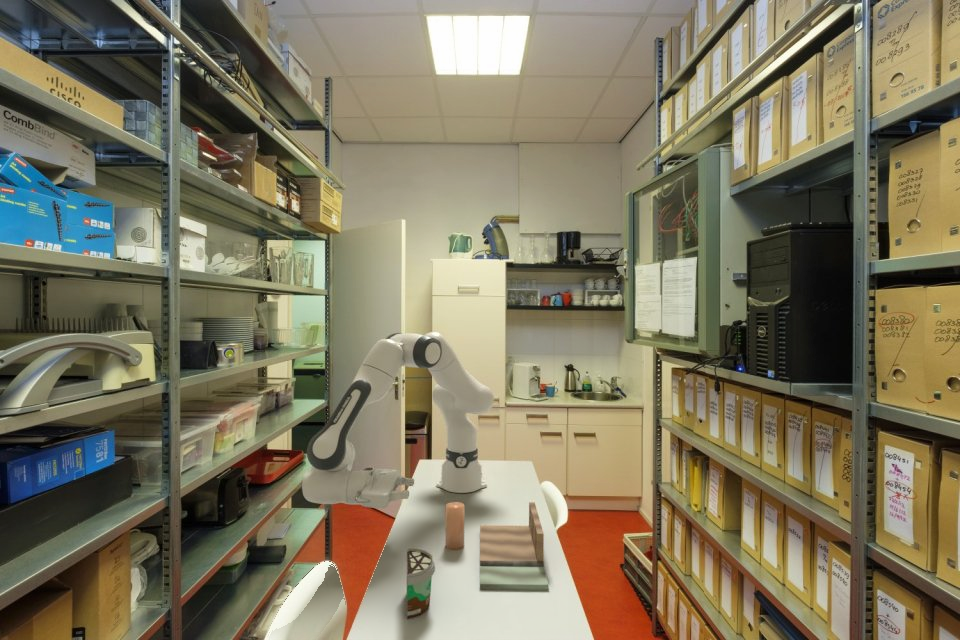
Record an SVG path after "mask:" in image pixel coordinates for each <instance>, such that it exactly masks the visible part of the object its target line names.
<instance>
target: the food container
mask: <svg viewBox="0 0 960 640" xmlns="http://www.w3.org/2000/svg"><path fill="white" fill-rule="evenodd" d="M435 565H436V564H435V560H434V558H433V556H432V554H431V553H430V552H428V551H427V550H425V549H422V548H417V547H406V618H407V619H406V620H411V619H415V618H418V617H420V616H422V615H423V614H426V612H427V611H428V610H429V609H430V603H431V592H432V578H433V575H434V574H435V571H436V566H435Z"/></svg>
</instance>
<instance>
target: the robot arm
mask: <svg viewBox="0 0 960 640" xmlns="http://www.w3.org/2000/svg"><path fill="white" fill-rule="evenodd" d="M458 357H459V356H457V353H456V352H455V350H454V349H453V347H452V346H451V344H450V342H449V341H448V340H447V339H446V337H444V335H443V334H441V333H440V332H438V331H430V332H427V333H426V334H424V335H423V334H420V333H415V332H411V333H406V332H405V333H403V332H395V333H394V332H393V333H391V334H389V335H387V336H386V337H385V338H382V339H379V340H378V341H377V342H375V344H374V345H373V346H372V347H371V349H370V351H369V352H368V353H367V355H366V356H365V358H364V359H363V360H362V363H361V365H360V367H359V369H358V370H357V373H356V375H355V377H354V379H353V381H352V383H351V384H350V385H349V388H348V389H347V391H346V392H345V393H344V395H343V397H342V398H341V400H340V401H339V403H338V405H337V406H336V408H335V409H334V412H333V413H332V414H331V417H330V418H329V419H328V420H327V423H326V424H325V425H324V426H323V427H322V428H321V429H320V430H319V431H318V432H316V434H314V435H313V436H312V437H311V439H310V441H309V442H308V445H307V447H306V456H307V460H308V463H309V464H310V465H311V467H310V468H309V469H308V470H307V471H306V472H305V473H304V474H303V475H302V479H301V492H302V495H303V497H304V499H305V500H306V501H308V502H310V503H313V504H321V505H323V504H324V505H335V504H339V503H340V504H341V503H342V504H346V505H360V506H362V507H363V508H364V507H365V508H370V509H371V508H373V509H386V508H388V507H389V506H390V504H391V501H393V502H394V501H398V500H402V499H403V500H407V499H409V496H410V491H409V490H406V489H403V490H399V491H397V489H398V487H399V486H406V487H413V486H414V485H415V479H414V478H408V477H405V476H401V471H400V470H398V469H388V468H375V467H374V466H367V467H366V468H363V469H360V470H353V467H354V463H355V459H356V449H355V446H354V444H353V443H352V442H351V441H350V440H348V435H349V433H350V432H351V430H352V428H353V426H354V424H355V423H356V421H357V419H358V418H359V416H360V414H361V413H362V411H363V409H365V407H367V406H368V405H370V404H372V403H376V402H379V401H381V400H383V399H384V398H385V397H386V395H388V392H389V391H390V389H391V388H392V386H393V384H394V382H395V380H396V378H397V375H398V373H399V370H400V369H401V367H402V366H403V367H405V368H419V369H423V370H424V369H425V370H426V369H427V370H428V371H429V373H430V375H431V377H432V378H433V380H434V381H435V383H436V384H435V386H434V387H433V390H432V393H431V395H432V401H433V403H434V405H435V406H436V407H437V408H438V409H439V410H440V413H441V414H442V417H443V419H444V423H445V426H446V427H445V428H446V443H447V445H446V449H445V461H444V462H443V463H442V464H441V476H440V479H439V480H438V481H437V482H436V484H435V485H436V487H437V488H440V489H443V490H444V491H447V492H451V493H455V494H457V493H458V494H464V493H465V494H466V493H471V492H472V493H473V492H475V491H478V490H480V489H484V488H487V487H488V485H487V482H486V480H485V478H484V477H483V470H482V468H483V467H482V466H483V465H482V464H481V462H480V461H479V460H478V458H479V457H478V456H479V450H478V445H477V443H478V441H477V439H478V438H477V437H478V430H477V426H476V424H474V422H472V421H471V420H470V418H469V416H468V414H472V415H481V414H486V413H488V412H489V411H491V409H492V408H493V406H494V402H495V401H494V399H495V397H494V393H493V390H492V389H491V388H490V387H488V386H487V385H484V384H483V383H482V382H480V381H478V380H477V379H476V378H475V377H474V376H473V375H472V374H470V373H469V371H467V369H466V368H465V366H463V364H462V363H461V361H460V359H459V358H458Z"/></svg>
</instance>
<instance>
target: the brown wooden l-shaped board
mask: <svg viewBox="0 0 960 640" xmlns="http://www.w3.org/2000/svg"><path fill="white" fill-rule="evenodd" d="M479 527H480V528H479V590H518V591H519V590H520V591H521V590H524V591H525V590H527V591H528V590H531V591H534V590H535V591H539V590H540V591H544V590H545V591H548V590H549V582H548V579H547V575H546V569H545V562H544V545H545V544H544V542H545V541H544V540H545V539H544V538H545V537H544V536H545V535H544V534H545V533H544V529H543V527H542V523H541V520H540V517H539V513H538V509H537V505H536V503H535V502H534V501H531V502H528V525H489V524H488V525H486V524H485V525H479Z"/></svg>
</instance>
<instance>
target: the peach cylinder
mask: <svg viewBox="0 0 960 640" xmlns="http://www.w3.org/2000/svg"><path fill="white" fill-rule="evenodd" d="M445 547H446V548H447V549H449V550H453V551H454V550H455V551H456V550H461V549H463V548H464V547H465V504H464V503H463V502H460V501H452V502H448V503H446V504H445Z"/></svg>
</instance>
